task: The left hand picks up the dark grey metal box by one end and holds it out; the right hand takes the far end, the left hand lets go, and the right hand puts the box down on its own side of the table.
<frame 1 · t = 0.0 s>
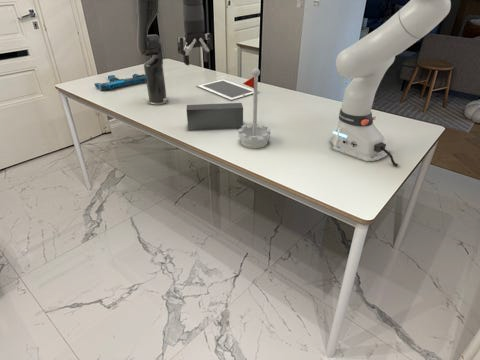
left hand: (196, 63, 134), 29 cm above the table, tool pointing down, fingers open, 8 cm apart
right hand: (308, 6, 134), 48 cm above the table, tool pointing down, fingers open, 8 cm apart
box: (215, 126, 154), on the table
flag stand: (254, 142, 141), on the table
tablet: (227, 89, 198), on the table
submachine gun: (123, 82, 209), on the table
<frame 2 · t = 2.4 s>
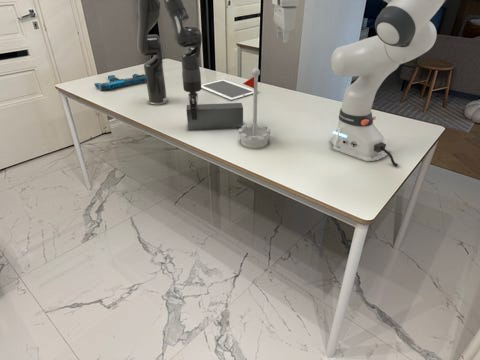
left hand: (194, 116, 150), 5 cm above the table, tool pointing down, fingers closed on box, 6 cm apart
right hand: (282, 39, 128), 38 cm above the table, tool pointing down, fingers open, 8 cm apart
box: (215, 126, 154), on the table, touching left hand
everything else where it was.
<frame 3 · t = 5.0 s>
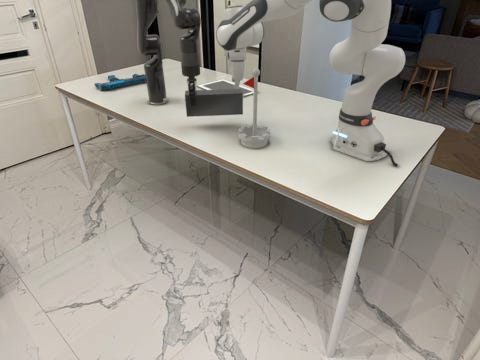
left hand: (193, 102, 147), 12 cm above the table, tool pointing down, fingers closed on box, 6 cm apart
right hand: (235, 85, 143), 19 cm above the table, tool pointing down, fingers open, 8 cm apart
box: (214, 113, 151), point 6 cm above the table, touching left hand
everything else where it was.
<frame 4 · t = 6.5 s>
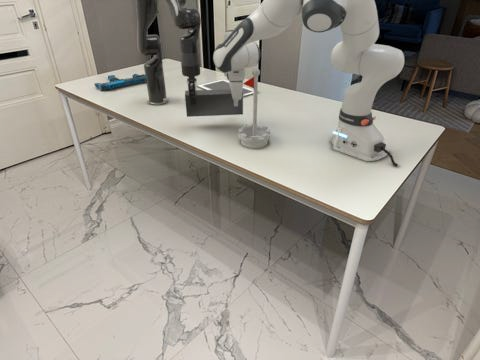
left hand: (193, 102, 147), 12 cm above the table, tool pointing down, fingers closed on box, 6 cm apart
right hand: (235, 102, 149), 11 cm above the table, tool pointing down, fingers closed on box, 6 cm apart
box: (214, 113, 151), point 6 cm above the table, touching right hand, left hand
everything else where it was.
when the left hand's fingers open (12 cm above the table, at t = 7.8 s): box stays where it is, held by the right hand.
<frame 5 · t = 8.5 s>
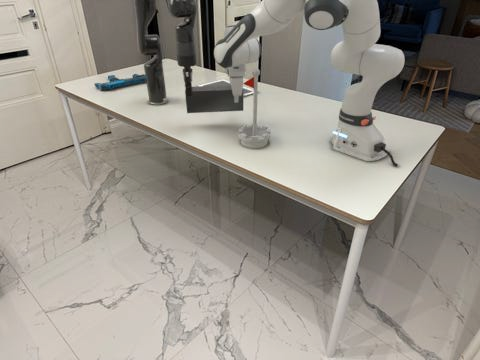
left hand: (189, 92, 144), 16 cm above the table, tool pointing down, fingers open, 8 cm apart
right hand: (235, 99, 148), 12 cm above the table, tool pointing down, fingers closed on box, 6 cm apart
box: (215, 109, 150), point 8 cm above the table, touching right hand
everything else where it was.
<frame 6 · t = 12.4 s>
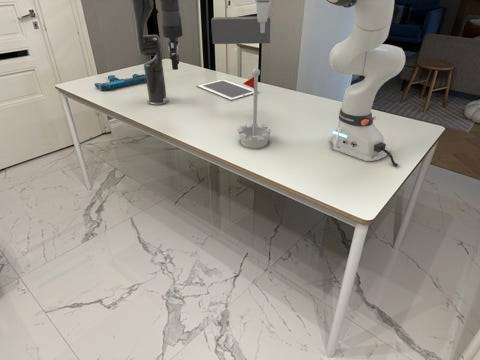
left hand: (175, 66, 138), 27 cm above the table, tool pointing down, fingers open, 8 cm apart
right hand: (262, 31, 144), 38 cm above the table, tool pointing down, fingers closed on box, 6 cm apart
box: (241, 42, 147), point 34 cm above the table, touching right hand
everything else where it was.
when the right hand's fingers open (6 cm above the table, at t = 18.2 s): box stays where it is, on the table.
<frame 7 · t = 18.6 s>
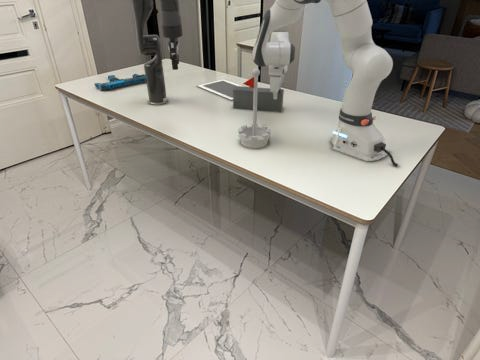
left hand: (175, 66, 138), 27 cm above the table, tool pointing down, fingers open, 8 cm apart
right hand: (276, 95, 167), 7 cm above the table, tool pointing down, fingers open, 8 cm apart
box: (257, 108, 173), on the table
everything else where it was.
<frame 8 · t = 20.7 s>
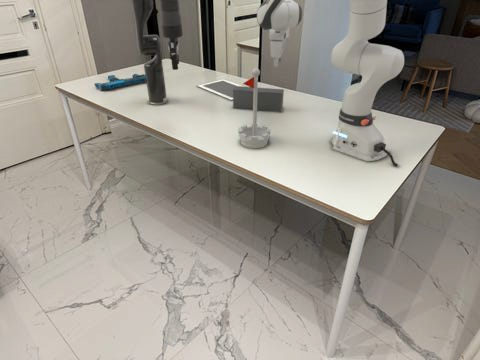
left hand: (175, 66, 138), 27 cm above the table, tool pointing down, fingers open, 8 cm apart
right hand: (277, 64, 159), 22 cm above the table, tool pointing down, fingers open, 8 cm apart
nothing on the table moved.
at the end: box inside the target area (8.7 cm from its centre), on the table; the left hand is holding nothing; the right hand is holding nothing; box at rest at the end (0.0 cm/s) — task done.
